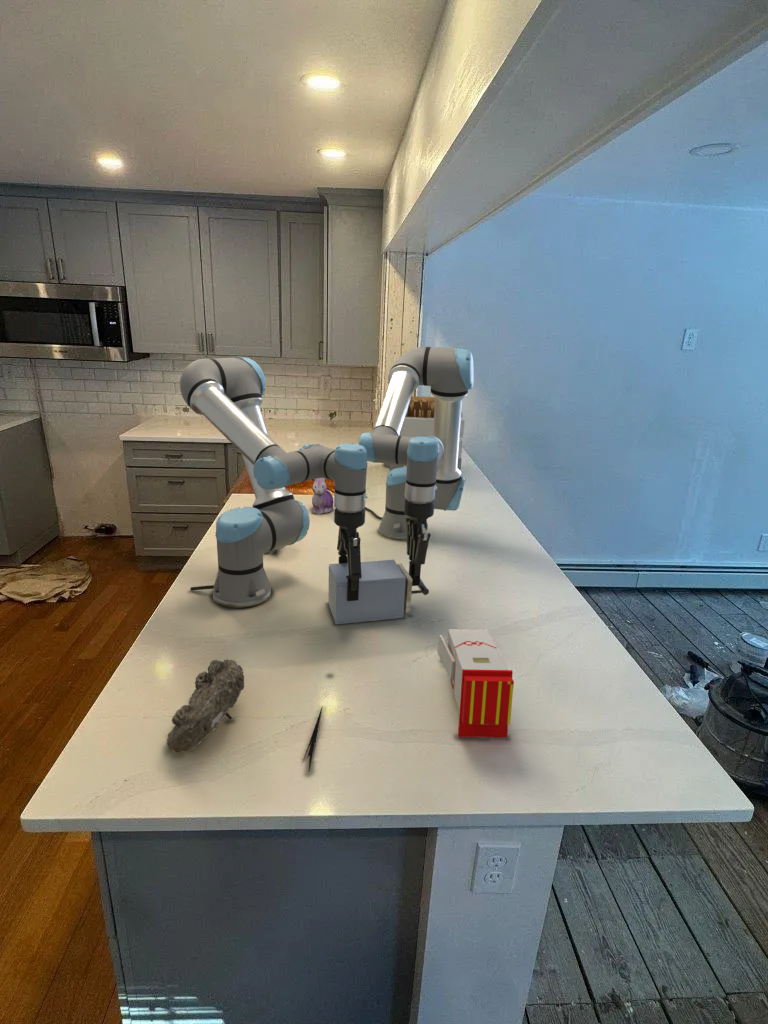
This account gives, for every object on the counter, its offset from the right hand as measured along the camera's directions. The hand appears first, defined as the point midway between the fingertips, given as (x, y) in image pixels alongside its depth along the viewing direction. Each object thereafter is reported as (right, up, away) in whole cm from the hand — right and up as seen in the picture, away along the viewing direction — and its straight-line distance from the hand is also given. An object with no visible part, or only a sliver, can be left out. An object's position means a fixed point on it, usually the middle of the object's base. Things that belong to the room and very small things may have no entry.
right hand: (413, 584), depth 149 cm
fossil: (-41, -20, -41) cm, 61 cm away
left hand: (-17, -1, -4) cm, 18 cm away
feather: (-20, -21, -41) cm, 50 cm away
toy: (+10, -19, -31) cm, 37 cm away
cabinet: (-13, -7, -1) cm, 14 cm away
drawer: (-8, -5, 0) cm, 9 cm away
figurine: (-32, +20, +70) cm, 79 cm away
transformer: (+9, +38, +126) cm, 132 cm away
